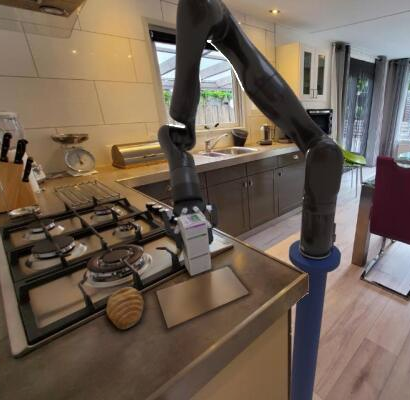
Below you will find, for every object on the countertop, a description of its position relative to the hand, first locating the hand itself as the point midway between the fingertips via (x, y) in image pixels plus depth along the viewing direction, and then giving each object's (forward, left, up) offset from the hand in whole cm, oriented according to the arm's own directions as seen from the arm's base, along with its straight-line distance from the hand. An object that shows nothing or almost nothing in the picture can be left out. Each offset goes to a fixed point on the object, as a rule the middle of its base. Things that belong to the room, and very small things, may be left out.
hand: (196, 246), depth 62 cm
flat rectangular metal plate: (+2, +8, -8) cm, 11 cm away
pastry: (+17, +5, -8) cm, 19 cm away
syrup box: (0, -2, -8) cm, 8 cm away
